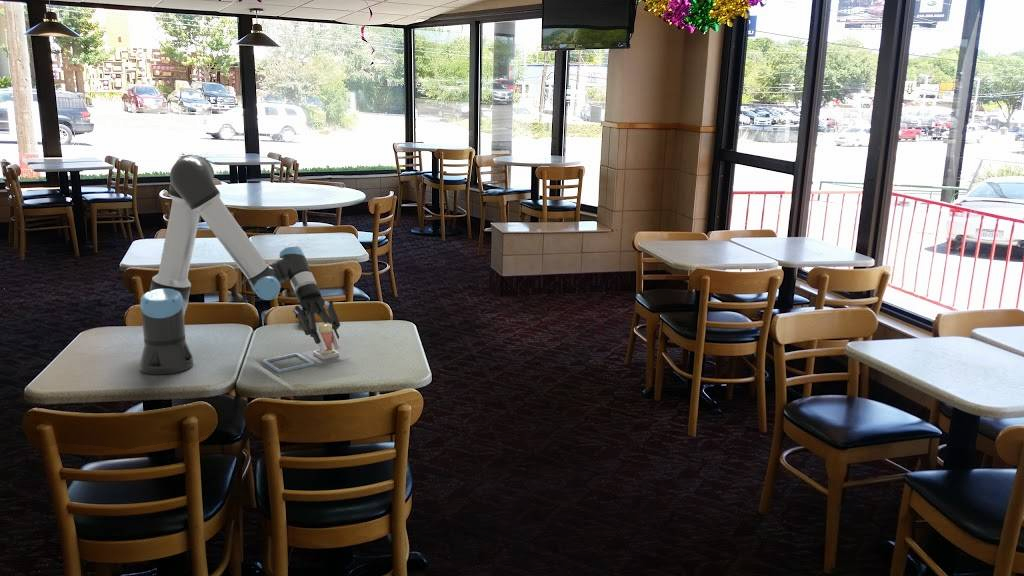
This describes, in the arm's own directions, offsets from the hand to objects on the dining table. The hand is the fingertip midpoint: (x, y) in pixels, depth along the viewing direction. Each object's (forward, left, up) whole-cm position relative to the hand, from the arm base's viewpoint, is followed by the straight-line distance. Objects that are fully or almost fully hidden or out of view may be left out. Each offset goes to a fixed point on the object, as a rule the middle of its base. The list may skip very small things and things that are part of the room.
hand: (331, 349), depth 251 cm
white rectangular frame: (0, +4, -4) cm, 6 cm away
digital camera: (+14, +46, -5) cm, 49 cm away
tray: (-13, +4, -4) cm, 14 cm away
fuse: (0, +4, -3) cm, 5 cm away
